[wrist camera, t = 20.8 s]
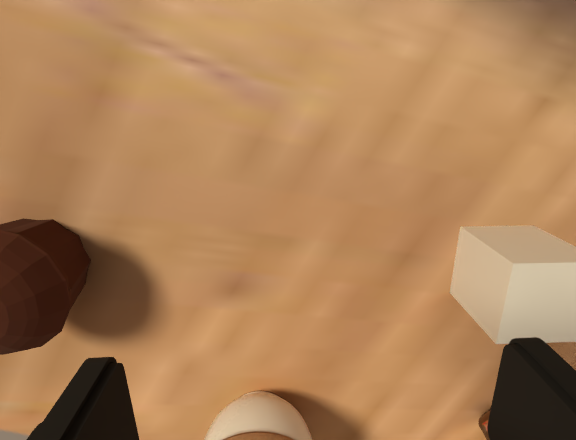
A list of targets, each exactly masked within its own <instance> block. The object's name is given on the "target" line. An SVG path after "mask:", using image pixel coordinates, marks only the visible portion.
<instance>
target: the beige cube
mask: <svg viewBox="0 0 576 440" xmlns="http://www.w3.org/2000/svg"><path fill="white" fill-rule="evenodd" d="M450 293H451V295H452V296H453V297H454V298H455V299H456V300H457V301H458V302H459V304H460V305H461V306H462V307H463V308H464V309H465V310H466V311H467V312H468V314H469V315H470V316H471V317H472V318H473V319H474V320H475V321H476V323H477V324H478V325H479V326H480V327H481V328H482V329H483V330H484V331H485V333H486V334H487V335H488V336H489V337H490V338H491V339H492V340H493V341H494V343H495V344H509V342H510V341H511V340H512V339H514V338H531V337H537V338H540V339H542V340H543V341H544V342H545V343H553V342H576V247H575V246H573V245H571V244H569V243H567V242H565V241H563V240H561V239H559V238H557V237H555V236H554V235H552V234H550V233H548V232H546V231H544V230H542V229H540V228H538V227H536V226H534V225H520V226H460V231H459V238H458V244H457V250H456V256H455V263H454V269H453V275H452V282H451V288H450Z"/></svg>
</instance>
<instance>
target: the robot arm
mask: <svg viewBox="0 0 576 440" xmlns="http://www.w3.org/2000/svg"><path fill="white" fill-rule="evenodd" d="M487 429H488V435H489V438H490V440H576V371H575V370H574V369H573V368H572V367H571V366H570V365H569V364H568V363H567V362H566V361H565V360H564V359H563V358H561V357H560V356H559V355H558V354H557V353H556V352H555V351H554V350H553V349H552V348H551V347H550V346H549V345H547V344H546V343H545V342H544V341H543V340H542V339H540V338H537V337H531V338H514V339H512V340H511V341H510V342H509V345H506V346H505V347H504V349H503V353H502V358H501V363H500V367H499V372H498V377H497V382H496V387H495V391H494V396H493V401H492V406H491V411H490V415H489V420H488V426H487ZM27 440H139V436H138V431H137V427H136V422H135V417H134V413H133V408H132V403H131V398H130V394H129V389H128V384H127V380H126V375H125V370H124V366H123V364H122V363H117V362H116V359H115V358H114V357H102V358H88V359H86V360H85V362H84V363H83V364H82V366H81V367H80V368H79V370H78V371H77V373H76V374H75V376H74V377H73V379H72V380H71V382H70V383H69V384H68V386H67V387H66V389H65V390H64V392H63V393H62V395H61V396H60V398H59V399H58V400H57V402H56V403H55V405H54V406H53V408H52V409H51V411H50V412H49V414H48V415H47V417H46V418H45V419H44V421H43V422H42V423H40V424H39V425H38V426H37V427H36V428H35V429H34V430H33V431H32V433H31V434H30V436H29V437H28V439H27Z"/></svg>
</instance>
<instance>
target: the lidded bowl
mask: <svg viewBox="0 0 576 440" xmlns="http://www.w3.org/2000/svg"><path fill="white" fill-rule="evenodd" d="M204 440H312V437H311V434H310V432H309V429H308V427H307V424H306V422H305V421H304V419H303V417H302V416H301V414H300V413H299V412H298V411H297V410H296V409H295V408H294V407H293V406H292V405H291V404H290V403H289V402H287V401H286V400H284V399H282V398H281V397H279V396H278V395H276V394H274V393H271V392H266V391H254V392H250V393H246V394H244V395H242V396H241V397H239V398H238V399H236V400H234V401H232V402H231V403H229V404H228V405H227V406H226V407H224V408H223V409H222V410H221V411H220V412H219V414H218V415H217V416H216V418H215V419H214V420H213V422H212V424H211V426H210V427H209V430H208V432H207V434H206V436H205V439H204Z"/></svg>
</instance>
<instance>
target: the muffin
mask: <svg viewBox="0 0 576 440" xmlns="http://www.w3.org/2000/svg"><path fill="white" fill-rule="evenodd" d="M90 261H91V259H90V258H89V256H88V255H87V253H86V251H85V250H84V248H83V245H82V243H81V240H80V238H79V236H78V235H76V234H75V233H73V232H71V231H69V230H67V229H65V228H64V227H62V226H61V225H60V224H58V223H57V222H56V221H54V220H31V219H20V220H16V221H12V222H9V223H5V224H1V225H0V354H8V353H13V352H18V351H23V350H28V349H31V348H36V347H41V346H43V345H44V344H45V343H47V342H48V341H49V340H51V339H52V338H53V337H54V336H56V335H57V334H58V333H60V332H61V331H62V329H63V326H64V324H65V321H66V318H67V316H68V313H69V310H70V309H71V307H72V305H73V304H74V302H75V300H76V299H77V297H78V295H79V293H80V292H81V290H82V288H83V287H84V285H85V283H86V275H87V270H88V267H89V264H90Z"/></svg>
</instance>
